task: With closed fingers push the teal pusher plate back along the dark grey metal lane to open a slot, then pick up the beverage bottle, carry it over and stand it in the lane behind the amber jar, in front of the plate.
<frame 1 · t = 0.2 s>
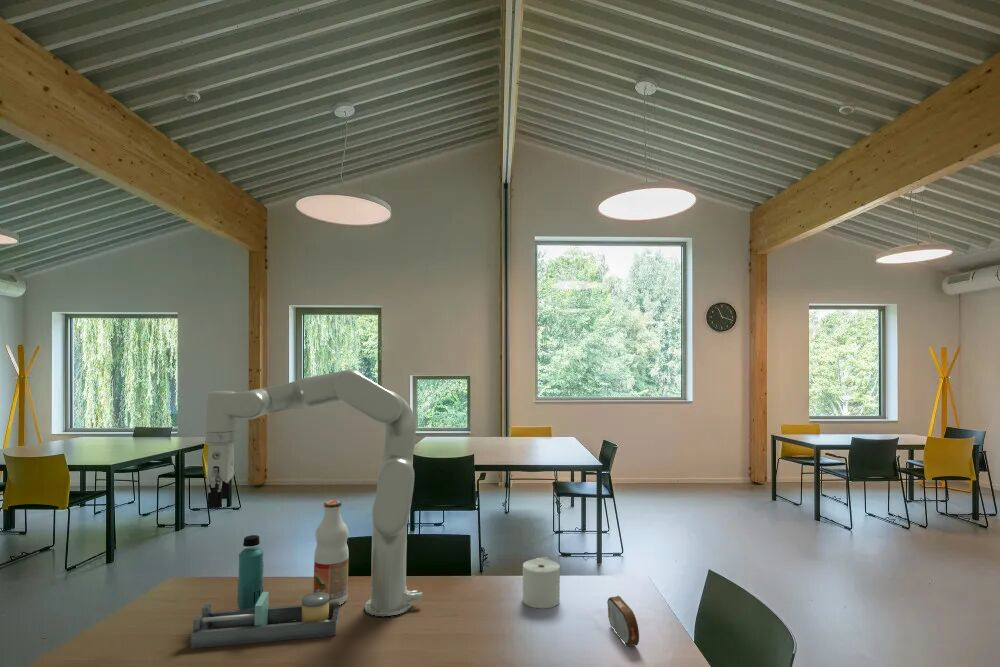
hand: (218, 503, 148), 31 cm above the table, tool pointing down, fingers open, 9 cm apart
beverage bottle: (249, 611, 153), on the table
pusher: (231, 616, 140), point 4 cm above the table, slide at 0.0 cm
tin: (622, 638, 140), on the table
jar: (315, 627, 144), resting in lane
toilet tissue: (540, 600, 161), on the table
lane: (267, 631, 141), on the table
fruit juice: (330, 602, 159), on the table
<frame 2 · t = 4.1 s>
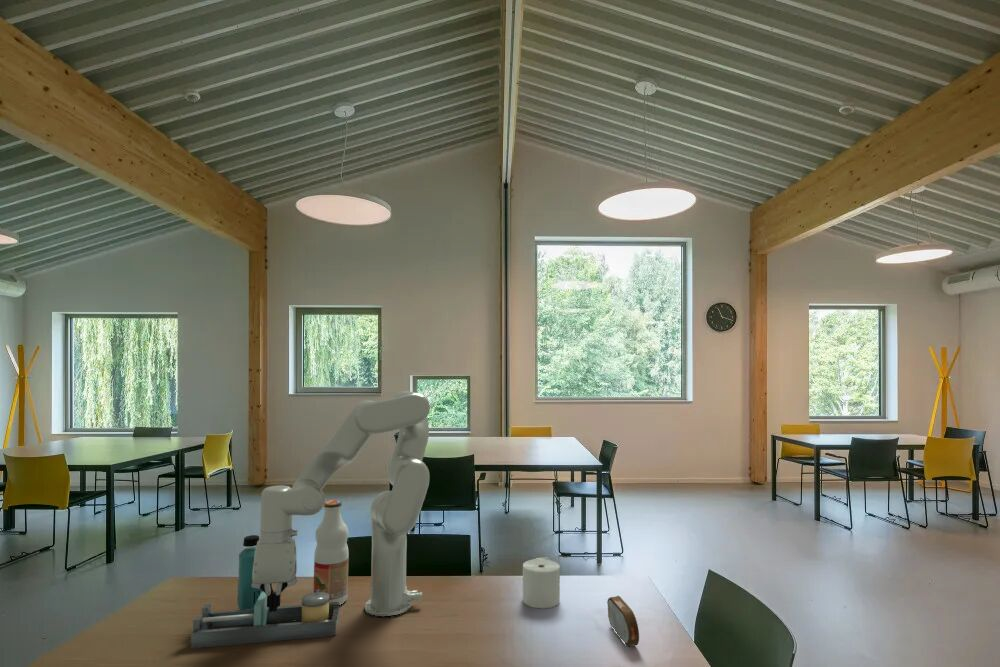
hand: (273, 609, 142), 5 cm above the table, tool pointing down, fingers closed
pusher: (231, 616, 140), point 4 cm above the table, slide at 0.2 cm, touching gripper
everything else where it was.
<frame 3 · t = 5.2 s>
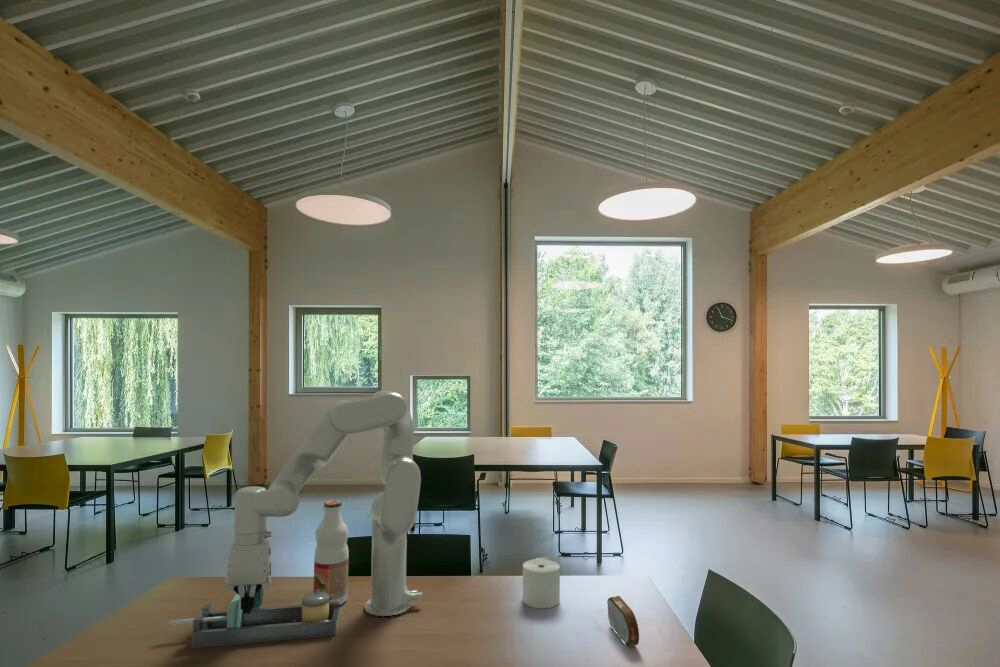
hand: (247, 611, 141), 5 cm above the table, tool pointing down, fingers closed
pusher: (204, 619, 139), point 4 cm above the table, slide at 6.3 cm, touching gripper
everything else where it was.
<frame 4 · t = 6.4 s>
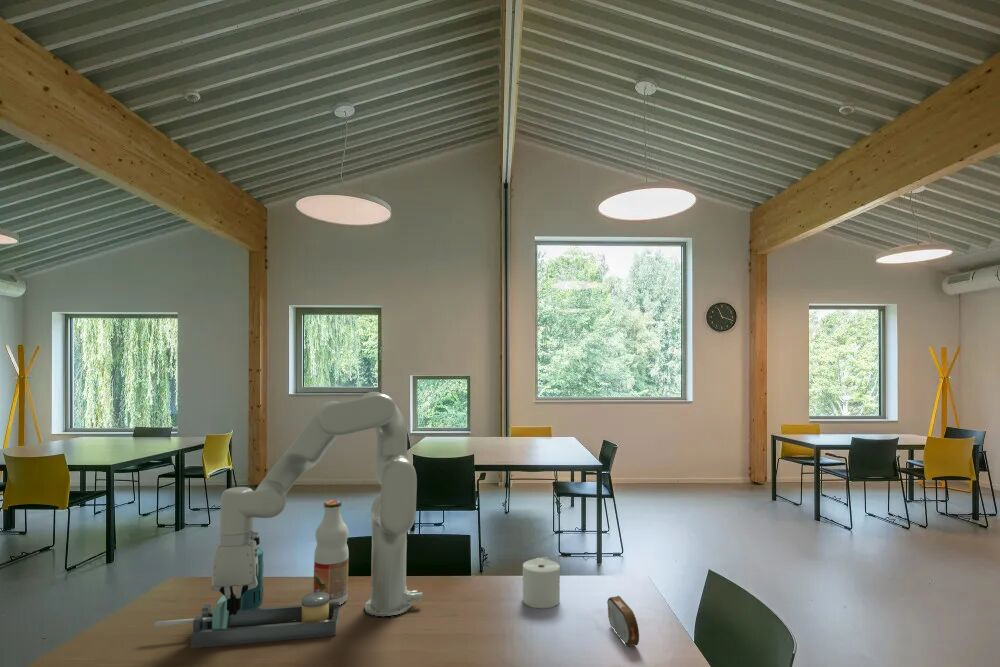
hand: (233, 612, 140), 5 cm above the table, tool pointing down, fingers closed
pusher: (189, 620, 138), point 4 cm above the table, slide at 9.6 cm, touching gripper
everything else where it was.
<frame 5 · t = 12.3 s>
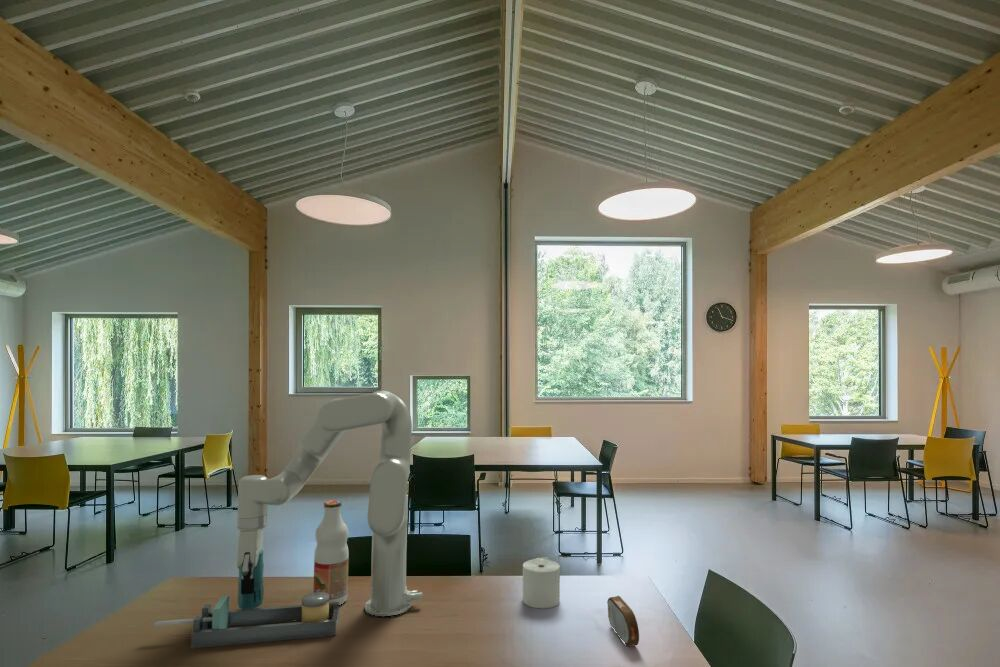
hand: (250, 588, 153), 6 cm above the table, tool pointing down, fingers closed on beverage bottle, 5 cm apart
beverage bottle: (250, 610, 153), on the table, touching gripper
pusher: (189, 620, 138), point 4 cm above the table, slide at 9.6 cm
everything else where it was.
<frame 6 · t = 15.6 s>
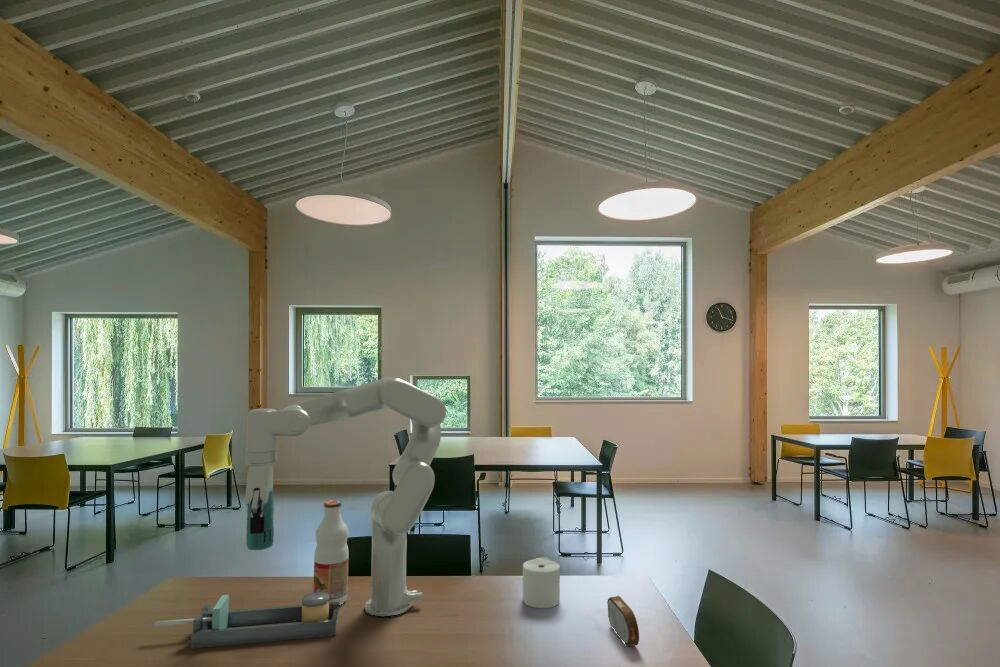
hand: (259, 528, 142), 26 cm above the table, tool pointing down, fingers closed on beverage bottle, 5 cm apart
beverage bottle: (259, 552, 143), point 19 cm above the table, touching gripper
everything else where it was.
when the fingers open (7 cm above the table, at t = 19.2 s): beverage bottle drops 1 cm, resting in lane.
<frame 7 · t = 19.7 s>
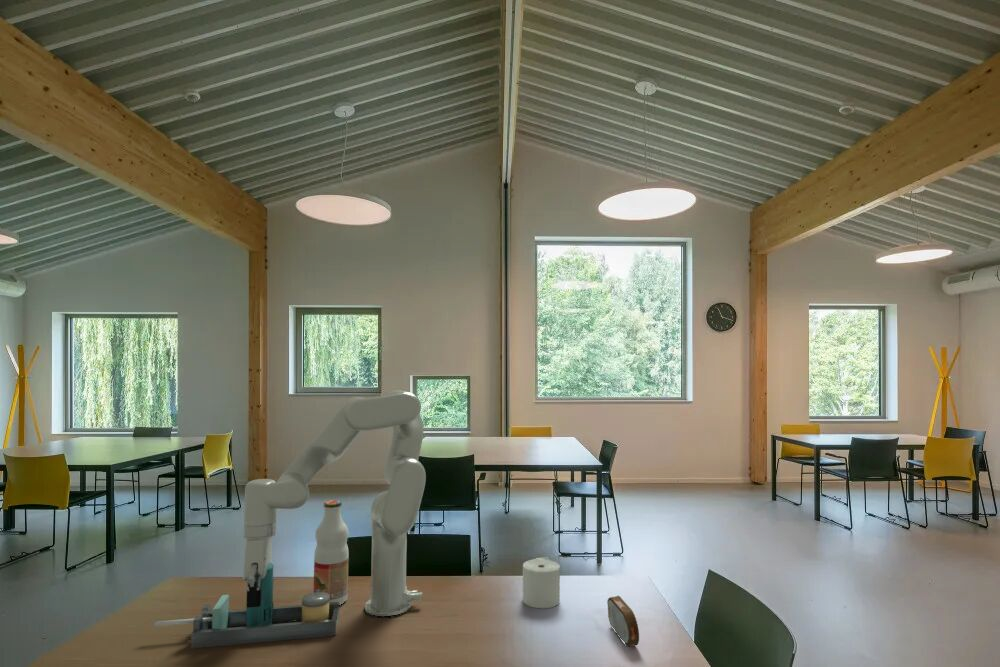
hand: (258, 598, 141), 8 cm above the table, tool pointing down, fingers open, 9 cm apart
beverage bottle: (258, 630, 142), resting in lane, touching gripper
everything else where it was.
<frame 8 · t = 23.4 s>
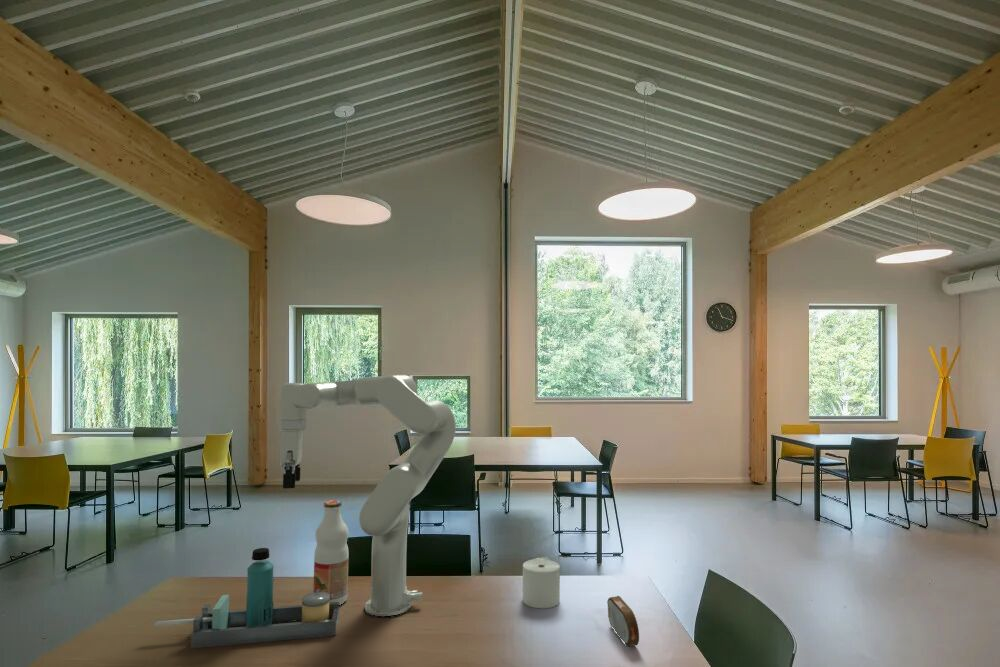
hand: (291, 484, 163), 32 cm above the table, tool pointing down, fingers open, 9 cm apart
beverage bottle: (258, 630, 142), resting in lane
everything else where it was.
at the end: beverage bottle inside the target area (1.5 cm from its centre), resting in lane; beverage bottle tilted 0°; pusher slide at 9.6 cm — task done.
